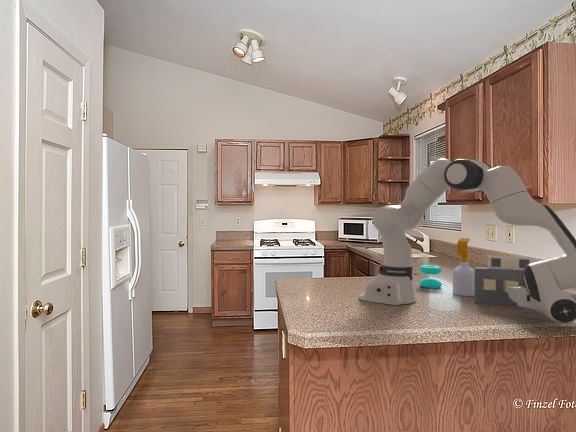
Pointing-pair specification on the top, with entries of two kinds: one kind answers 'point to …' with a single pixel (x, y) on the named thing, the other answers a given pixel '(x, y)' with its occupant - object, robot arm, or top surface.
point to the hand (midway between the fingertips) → (537, 290)
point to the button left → (489, 284)
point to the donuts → (432, 270)
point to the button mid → (509, 284)
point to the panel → (499, 279)
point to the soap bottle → (463, 272)
